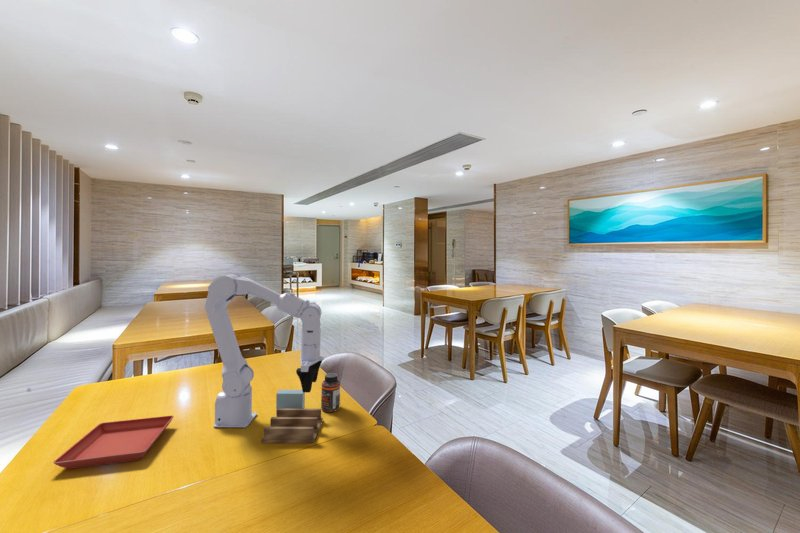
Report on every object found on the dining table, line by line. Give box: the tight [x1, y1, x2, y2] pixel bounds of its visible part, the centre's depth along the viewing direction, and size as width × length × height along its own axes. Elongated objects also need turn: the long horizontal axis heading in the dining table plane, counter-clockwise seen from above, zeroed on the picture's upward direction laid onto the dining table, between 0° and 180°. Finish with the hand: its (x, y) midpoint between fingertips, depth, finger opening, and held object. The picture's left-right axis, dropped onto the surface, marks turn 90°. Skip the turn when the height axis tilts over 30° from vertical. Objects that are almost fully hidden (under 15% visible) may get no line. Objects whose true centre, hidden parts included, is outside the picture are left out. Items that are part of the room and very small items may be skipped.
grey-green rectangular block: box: [275, 389, 306, 416], centre depth 104 cm, size 8×3×7 cm, turn 92°
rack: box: [260, 408, 324, 444], centre depth 94 cm, size 14×12×4 cm
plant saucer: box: [52, 415, 174, 470], centre depth 85 cm, size 18×18×3 cm
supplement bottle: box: [320, 372, 341, 413], centre depth 108 cm, size 6×6×11 cm
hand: (309, 386), depth 102 cm, fingers open, 7 cm apart
